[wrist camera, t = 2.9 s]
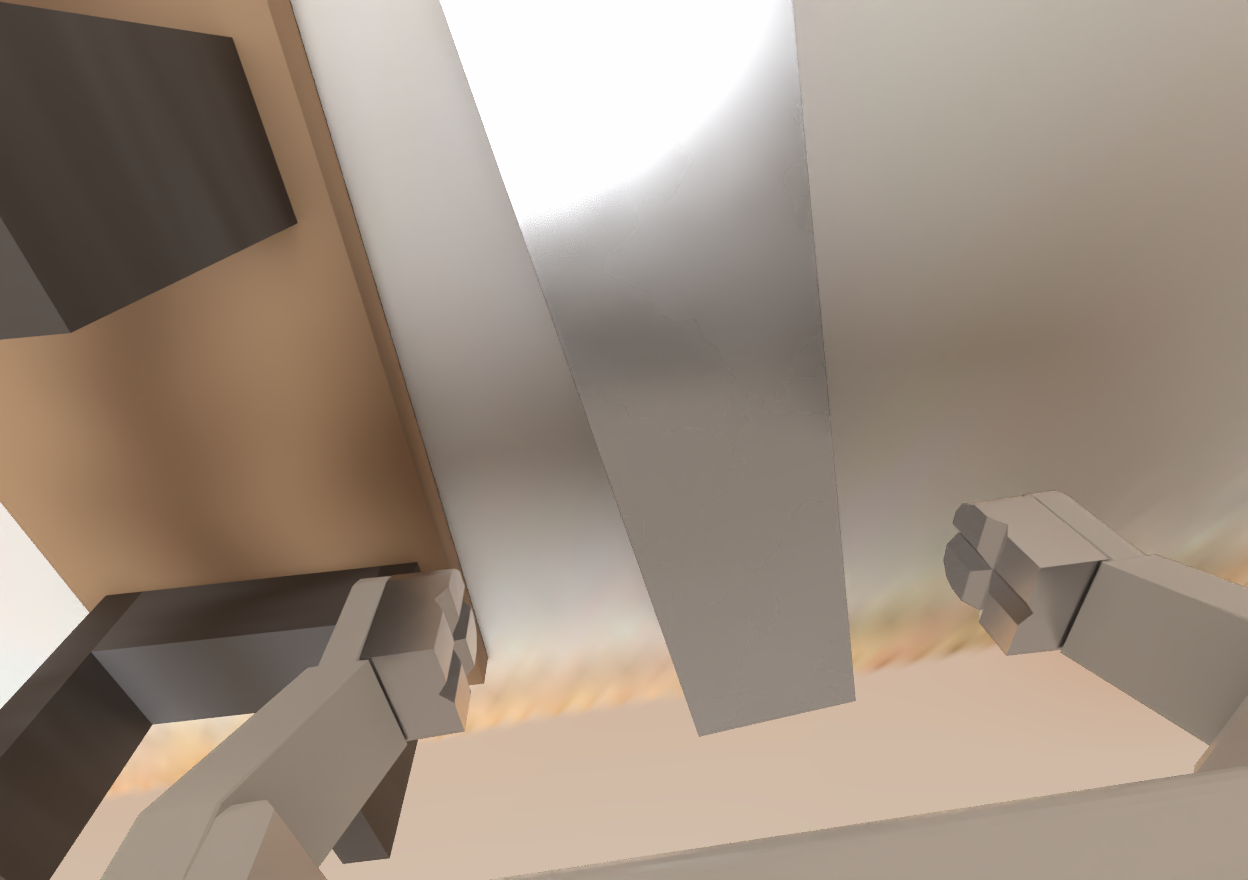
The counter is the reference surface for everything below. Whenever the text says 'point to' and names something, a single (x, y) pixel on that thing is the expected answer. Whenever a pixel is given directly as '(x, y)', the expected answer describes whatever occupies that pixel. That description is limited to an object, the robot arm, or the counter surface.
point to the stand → (187, 392)
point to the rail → (685, 315)
